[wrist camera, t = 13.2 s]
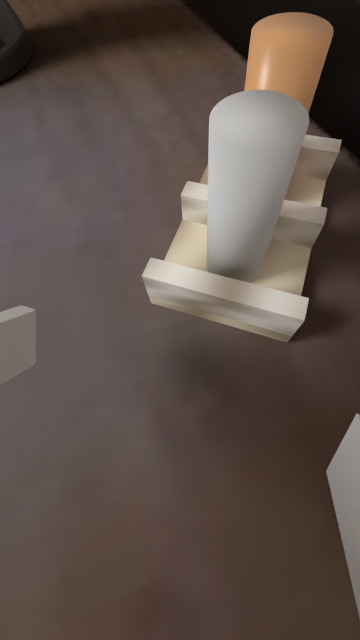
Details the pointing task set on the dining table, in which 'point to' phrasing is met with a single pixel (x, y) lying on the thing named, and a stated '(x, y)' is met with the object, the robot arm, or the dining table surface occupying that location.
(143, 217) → the dining table surface
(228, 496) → the dining table surface
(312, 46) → the orange plug
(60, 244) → the dining table surface
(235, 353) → the dining table surface
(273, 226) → the grey plug
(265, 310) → the rack
